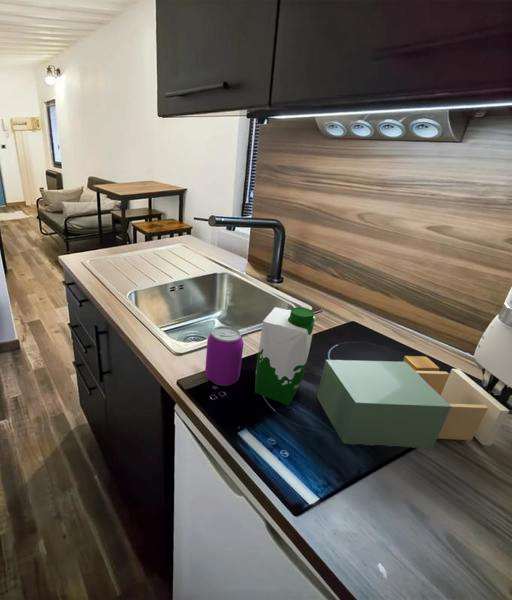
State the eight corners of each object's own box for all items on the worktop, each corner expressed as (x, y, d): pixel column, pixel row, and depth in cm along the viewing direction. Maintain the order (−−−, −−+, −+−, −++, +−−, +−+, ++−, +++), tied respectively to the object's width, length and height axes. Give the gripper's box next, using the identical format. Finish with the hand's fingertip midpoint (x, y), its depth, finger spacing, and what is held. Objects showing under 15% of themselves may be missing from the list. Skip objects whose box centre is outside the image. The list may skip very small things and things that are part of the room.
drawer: (475, 401, 72) (491, 369, 69) (527, 447, 62) (548, 412, 58) (371, 397, 75) (381, 366, 71) (404, 441, 64) (418, 407, 61)
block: (420, 372, 82) (426, 356, 80) (433, 385, 78) (439, 368, 76) (398, 371, 83) (404, 355, 81) (410, 384, 79) (416, 367, 77)
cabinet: (392, 400, 75) (405, 361, 71) (432, 448, 64) (451, 406, 60) (316, 397, 77) (325, 359, 73) (343, 444, 66) (355, 402, 62)
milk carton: (292, 410, 74) (310, 324, 65) (248, 393, 79) (259, 311, 71) (304, 387, 80) (321, 306, 71) (262, 373, 85) (274, 295, 77)
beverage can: (210, 389, 81) (213, 343, 76) (201, 368, 88) (203, 325, 83) (244, 386, 81) (250, 341, 76) (232, 366, 88) (237, 323, 83)
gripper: (612, 344, 51) (551, 441, 59) (519, 298, 64) (479, 382, 72) (550, 343, 52) (499, 438, 60) (471, 298, 65) (437, 381, 73)
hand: (488, 407), depth 66 cm, fingers closed
